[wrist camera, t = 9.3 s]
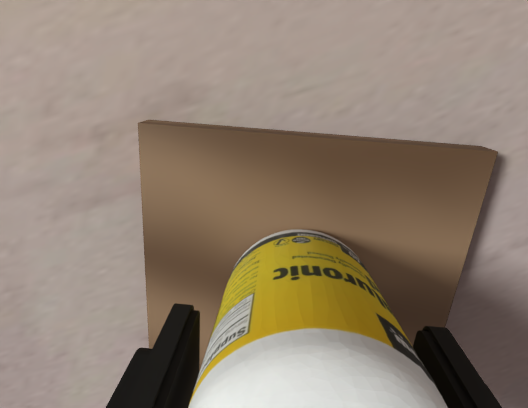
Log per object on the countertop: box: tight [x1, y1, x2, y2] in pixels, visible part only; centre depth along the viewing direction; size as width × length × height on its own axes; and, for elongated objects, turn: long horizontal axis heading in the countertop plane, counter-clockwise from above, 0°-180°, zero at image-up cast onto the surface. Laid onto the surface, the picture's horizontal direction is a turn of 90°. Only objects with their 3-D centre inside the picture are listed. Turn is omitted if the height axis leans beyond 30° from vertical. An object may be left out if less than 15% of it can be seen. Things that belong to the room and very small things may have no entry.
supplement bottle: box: [188, 229, 448, 408], centre depth 9 cm, size 5×5×10 cm
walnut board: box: [138, 120, 498, 372], centre depth 14 cm, size 12×12×1 cm
